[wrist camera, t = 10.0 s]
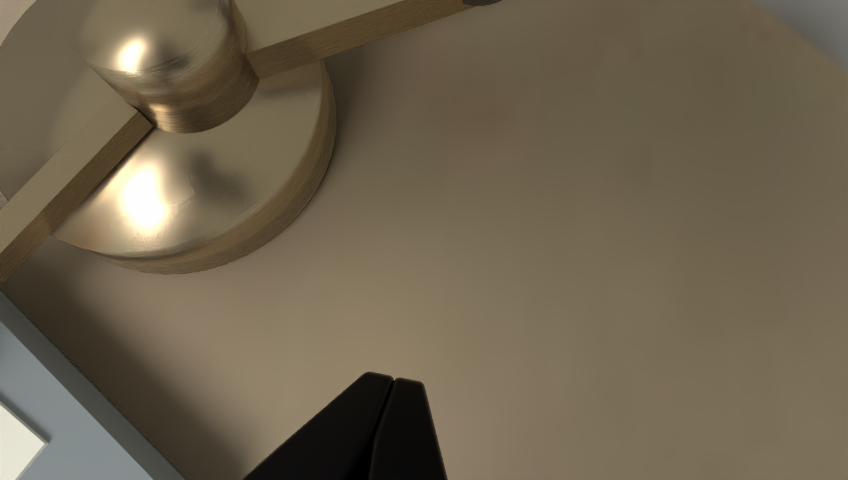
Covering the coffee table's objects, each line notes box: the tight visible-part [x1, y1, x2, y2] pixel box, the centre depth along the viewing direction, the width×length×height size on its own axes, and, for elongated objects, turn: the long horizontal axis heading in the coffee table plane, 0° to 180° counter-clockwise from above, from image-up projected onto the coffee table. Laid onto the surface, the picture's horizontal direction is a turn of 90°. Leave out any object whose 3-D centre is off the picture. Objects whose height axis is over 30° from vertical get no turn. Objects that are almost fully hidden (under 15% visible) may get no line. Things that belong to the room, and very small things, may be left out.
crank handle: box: [0, 0, 501, 286], centre depth 13 cm, size 20×12×12 cm, turn 110°
